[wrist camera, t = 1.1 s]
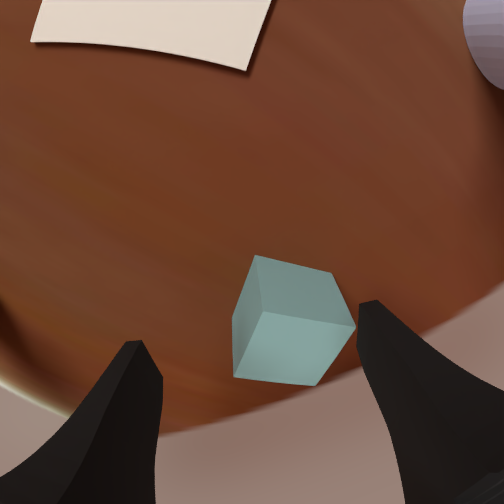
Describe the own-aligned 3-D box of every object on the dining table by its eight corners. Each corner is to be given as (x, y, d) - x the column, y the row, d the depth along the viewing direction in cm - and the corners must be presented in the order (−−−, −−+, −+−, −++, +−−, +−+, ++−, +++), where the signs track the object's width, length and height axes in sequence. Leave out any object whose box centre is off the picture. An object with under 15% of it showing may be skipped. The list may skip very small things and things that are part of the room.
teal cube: (331, 272, 19) (356, 327, 15) (300, 329, 22) (315, 385, 17) (254, 254, 18) (262, 311, 14) (231, 317, 21) (233, 376, 16)
